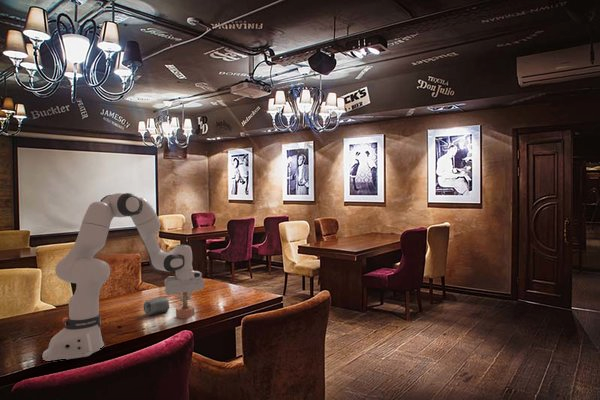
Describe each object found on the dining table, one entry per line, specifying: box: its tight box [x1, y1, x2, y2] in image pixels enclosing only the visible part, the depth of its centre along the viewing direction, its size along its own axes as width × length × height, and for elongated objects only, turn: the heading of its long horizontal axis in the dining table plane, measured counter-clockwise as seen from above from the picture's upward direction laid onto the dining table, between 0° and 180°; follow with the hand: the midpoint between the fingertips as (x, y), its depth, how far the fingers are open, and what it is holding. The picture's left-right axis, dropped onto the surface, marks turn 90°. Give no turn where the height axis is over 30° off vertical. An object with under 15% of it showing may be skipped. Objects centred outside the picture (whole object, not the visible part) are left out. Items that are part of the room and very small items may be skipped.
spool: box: [143, 296, 170, 316], centre depth 215 cm, size 14×10×10 cm
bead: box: [175, 305, 196, 319], centre depth 211 cm, size 9×9×4 cm
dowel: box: [182, 292, 188, 309], centre depth 211 cm, size 2×2×10 cm
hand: (185, 300), depth 211 cm, fingers closed on dowel, 2 cm apart
